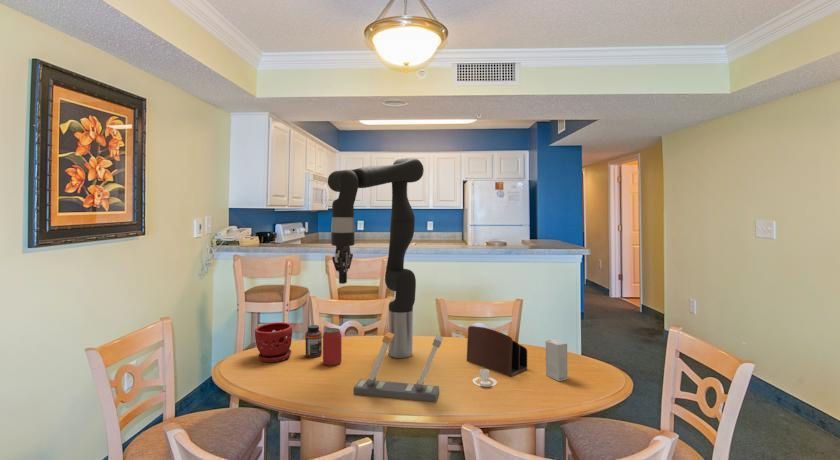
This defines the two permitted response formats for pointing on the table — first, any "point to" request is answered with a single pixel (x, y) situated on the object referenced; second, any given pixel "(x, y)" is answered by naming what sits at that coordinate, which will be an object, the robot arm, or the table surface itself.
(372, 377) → the orange switch
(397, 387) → the switch panel
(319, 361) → the table surface
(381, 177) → the robot arm
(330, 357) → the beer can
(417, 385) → the grey switch
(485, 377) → the teacup and saucer
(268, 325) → the plant pot
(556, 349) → the skincare box
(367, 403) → the table surface
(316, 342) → the supplement bottle
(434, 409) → the table surface
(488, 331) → the letter holder
